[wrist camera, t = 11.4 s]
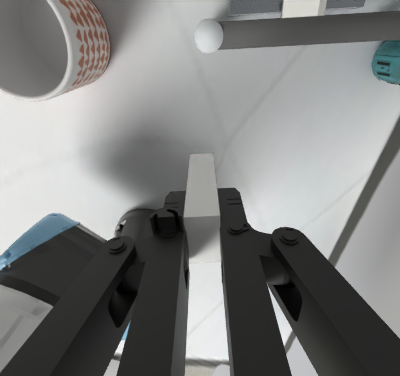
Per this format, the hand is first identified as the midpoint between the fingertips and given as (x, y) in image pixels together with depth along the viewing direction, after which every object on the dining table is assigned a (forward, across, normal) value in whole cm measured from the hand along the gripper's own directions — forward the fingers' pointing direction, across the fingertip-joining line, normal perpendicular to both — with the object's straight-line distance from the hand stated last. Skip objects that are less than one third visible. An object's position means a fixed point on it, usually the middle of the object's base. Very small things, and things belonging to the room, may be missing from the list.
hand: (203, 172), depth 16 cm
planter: (+30, -20, +10) cm, 37 cm away
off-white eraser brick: (+26, +11, +11) cm, 31 cm away
